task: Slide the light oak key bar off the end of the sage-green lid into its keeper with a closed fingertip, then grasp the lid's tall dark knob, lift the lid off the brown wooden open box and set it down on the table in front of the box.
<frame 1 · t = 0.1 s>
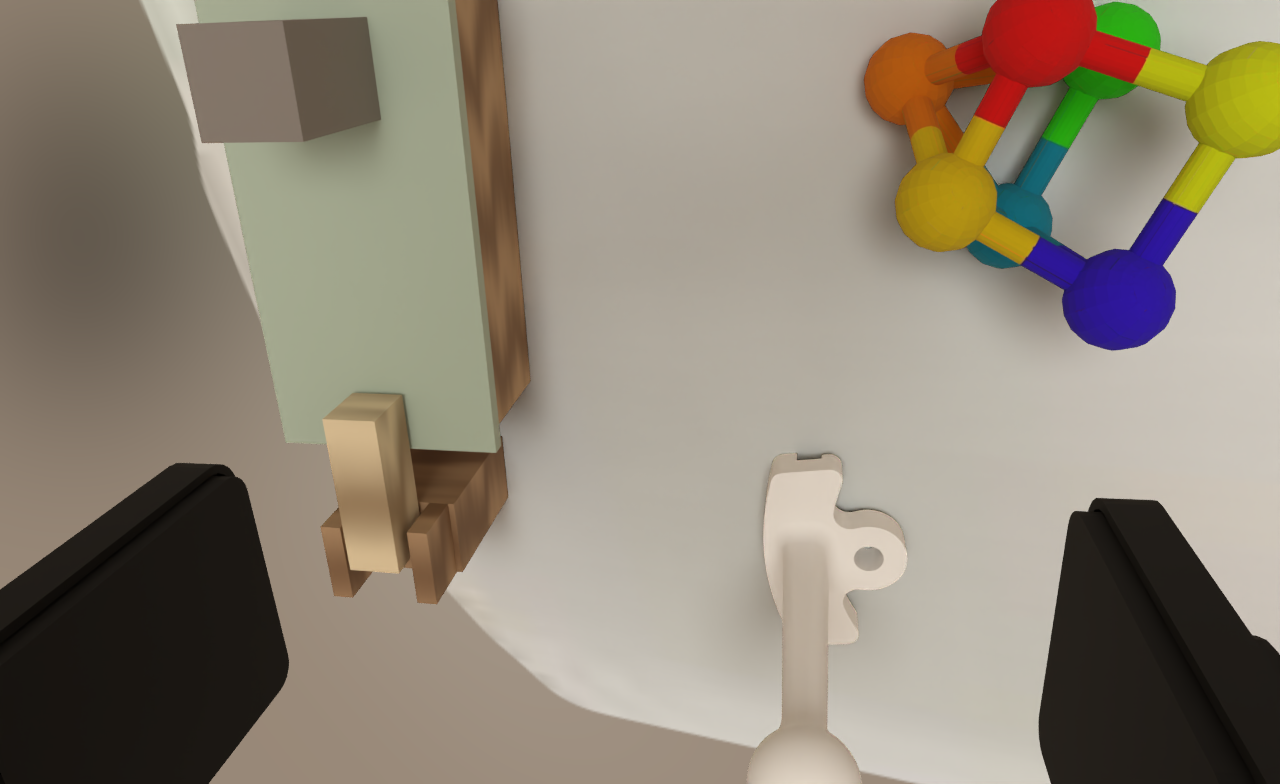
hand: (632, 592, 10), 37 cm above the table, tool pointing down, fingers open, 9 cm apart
key: (375, 483, 44), point 10 cm above the table, slide at 0.0 cm
molecular model: (1013, 135, 42), on the table
lid: (363, 232, 41), point 7 cm above the table, touching brown wooden open box
joystick: (834, 536, 52), on the table
brown wooden open box: (422, 201, 48), on the table
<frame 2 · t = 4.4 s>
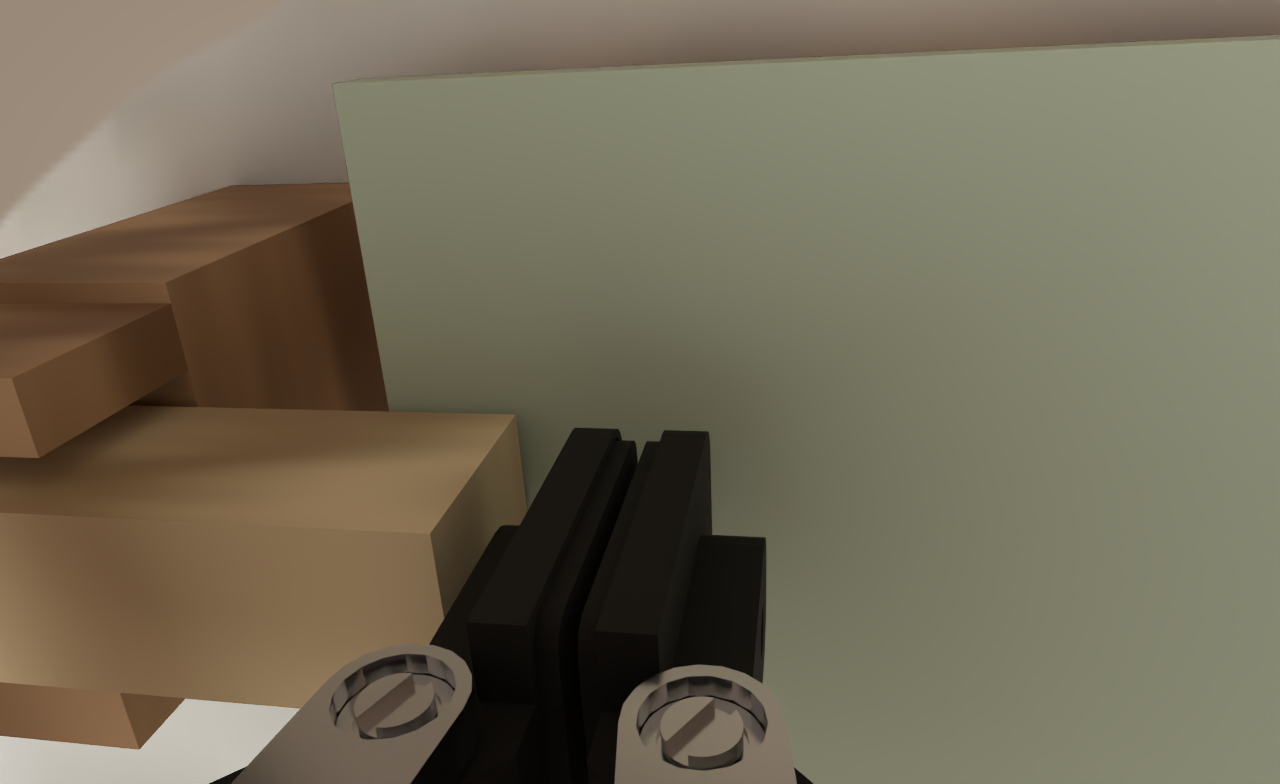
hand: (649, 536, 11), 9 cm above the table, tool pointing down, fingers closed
key: (200, 541, 12), point 10 cm above the table, slide at 1.0 cm, touching gripper
lid: (1167, 480, 12), point 7 cm above the table, touching brown wooden open box
brown wooden open box: (1046, 315, 18), on the table
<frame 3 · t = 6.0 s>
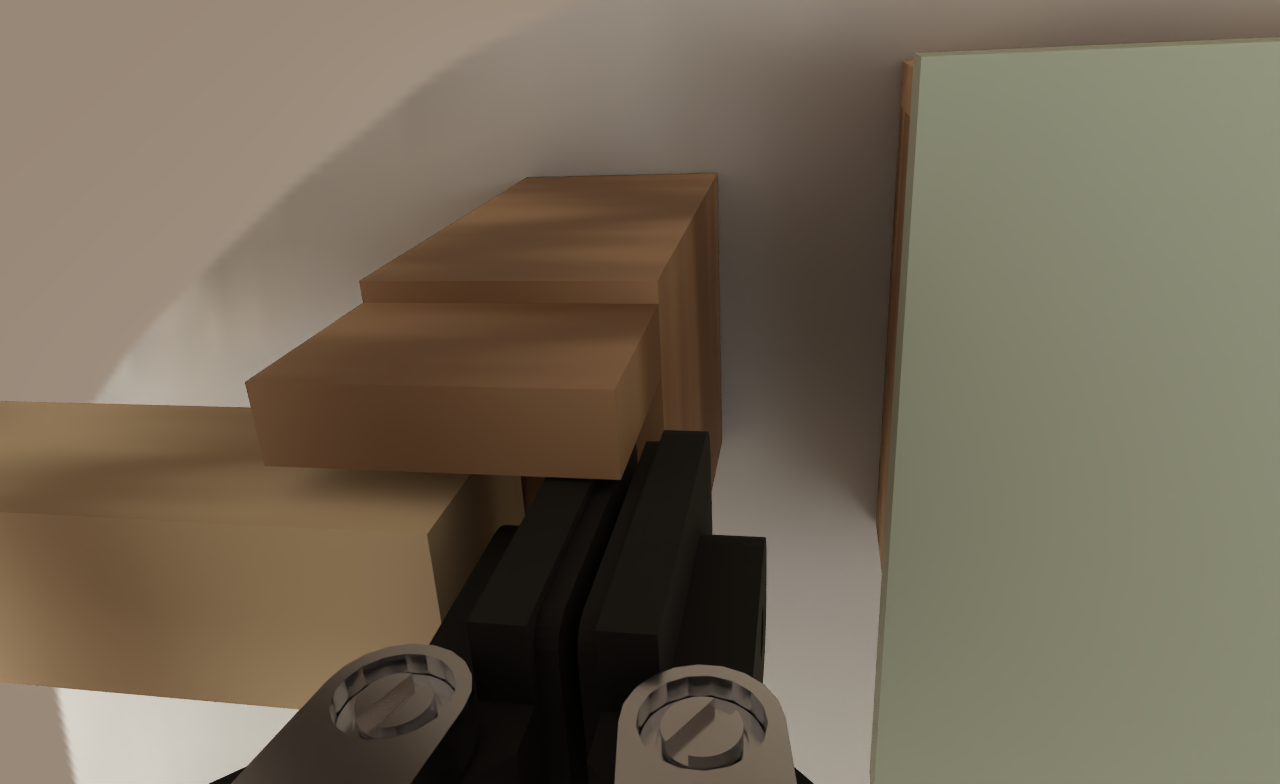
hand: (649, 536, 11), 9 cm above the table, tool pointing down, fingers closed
key: (196, 540, 12), point 10 cm above the table, slide at 8.0 cm, touching gripper
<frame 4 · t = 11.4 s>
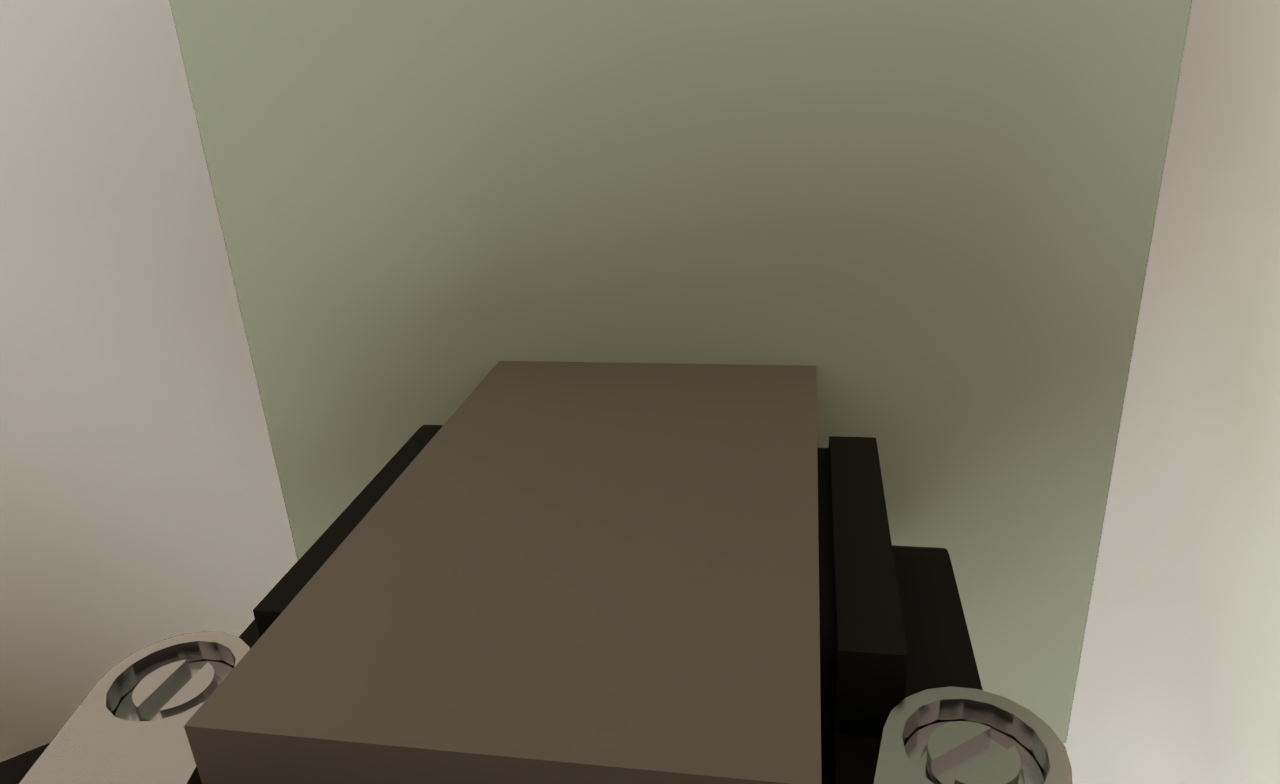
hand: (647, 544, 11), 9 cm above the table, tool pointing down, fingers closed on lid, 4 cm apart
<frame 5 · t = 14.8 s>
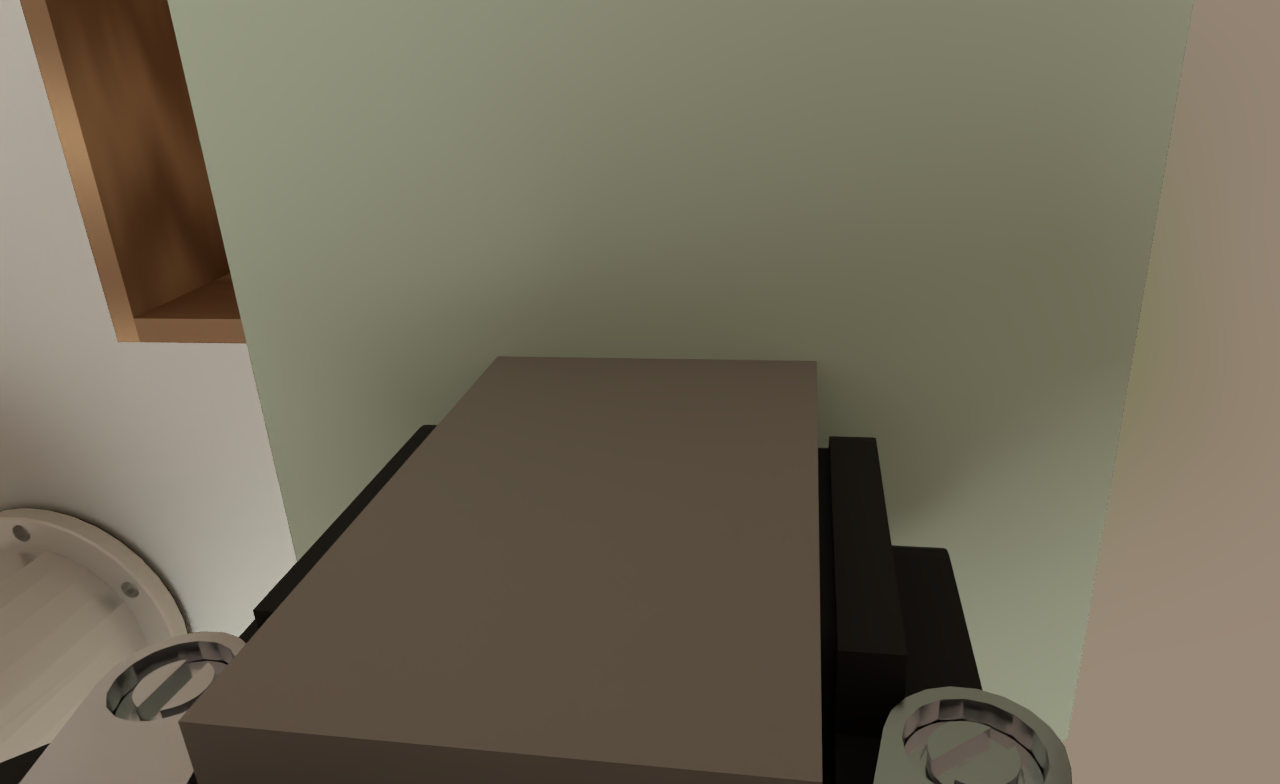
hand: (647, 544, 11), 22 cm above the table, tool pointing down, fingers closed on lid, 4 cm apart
when the fingers open (3 cm above the table, at t = 18.4 s): lid drops 2 cm, on the table.
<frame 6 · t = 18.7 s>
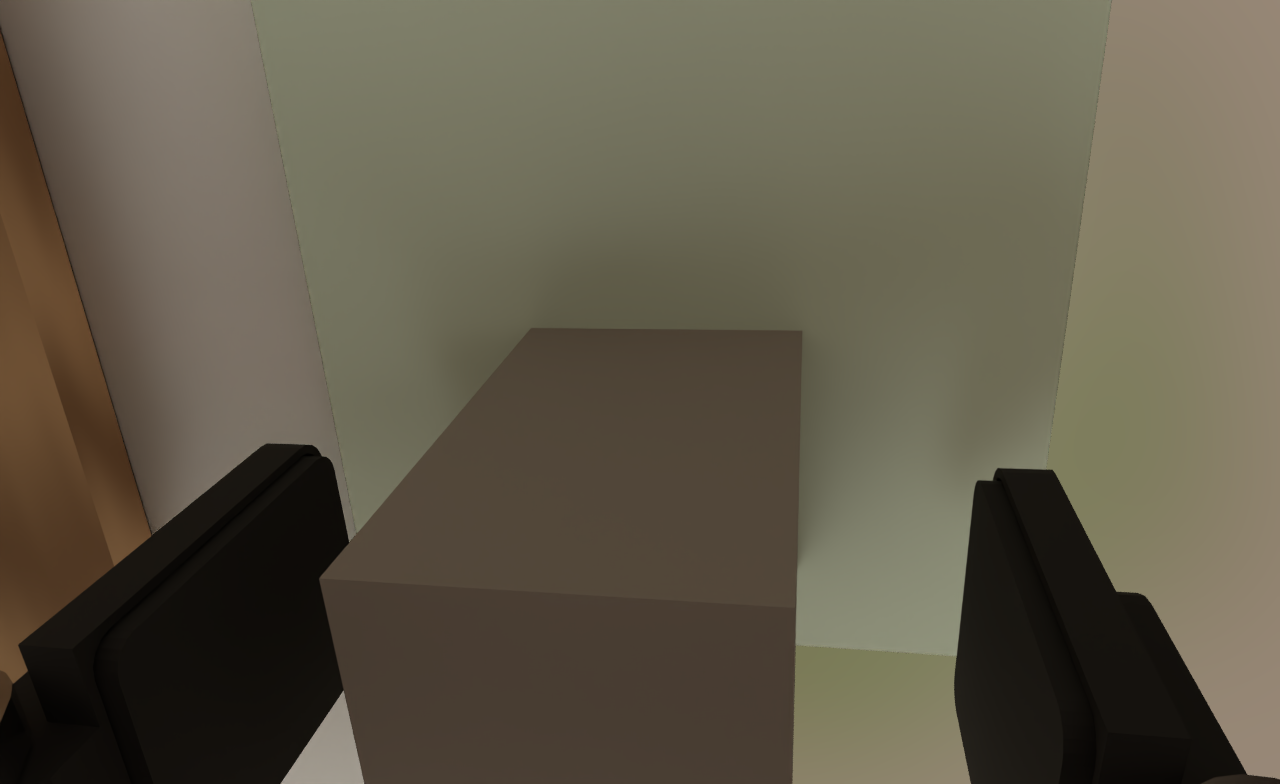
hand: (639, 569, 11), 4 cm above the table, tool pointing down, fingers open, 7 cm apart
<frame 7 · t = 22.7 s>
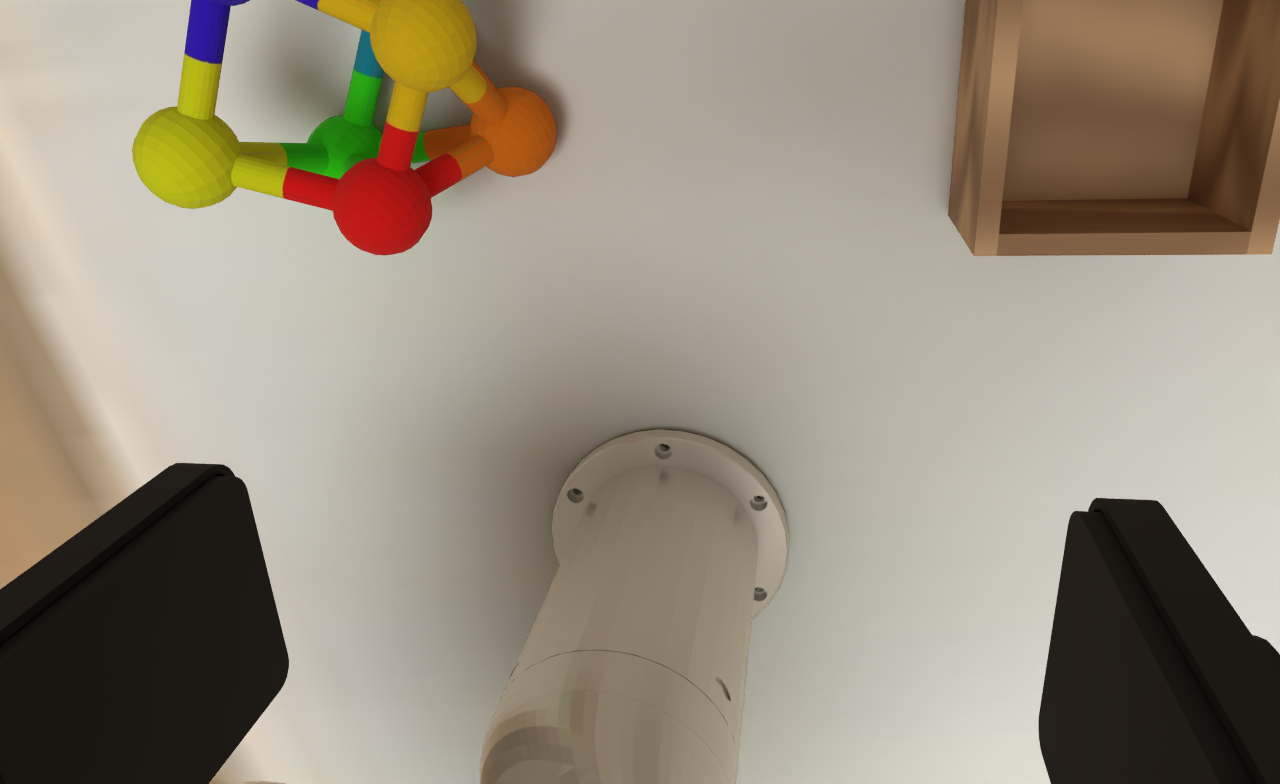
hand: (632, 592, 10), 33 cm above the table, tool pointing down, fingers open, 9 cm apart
molecular model: (415, 69, 42), on the table
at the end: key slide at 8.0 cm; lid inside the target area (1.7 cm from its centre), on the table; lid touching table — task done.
